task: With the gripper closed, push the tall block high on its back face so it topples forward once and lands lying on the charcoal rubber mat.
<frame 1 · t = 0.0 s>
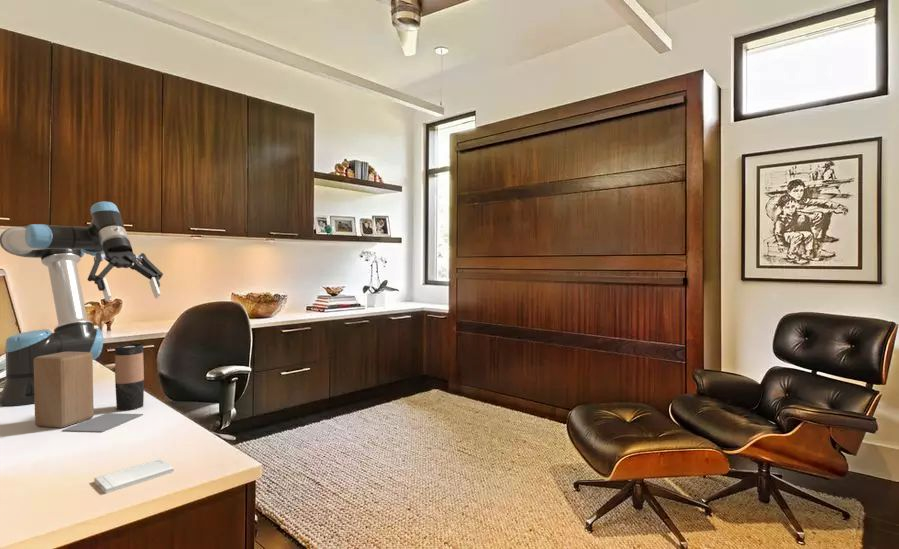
hand: (134, 297, 145), 36 cm above the table, tool tilted 35°, fingers open, 13 cm apart
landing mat: (104, 422, 136), on the table
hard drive: (135, 480, 101), on the table
block: (65, 423, 137), on the table
travel mug: (130, 408, 151), on the table
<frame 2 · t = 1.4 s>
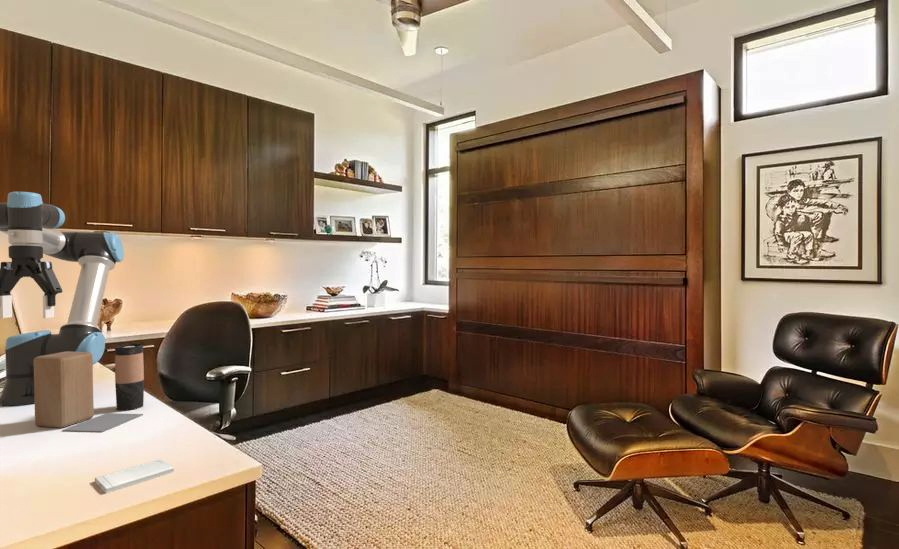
hand: (27, 317, 138), 31 cm above the table, tool pointing down, fingers open, 13 cm apart
nothing on the table moved.
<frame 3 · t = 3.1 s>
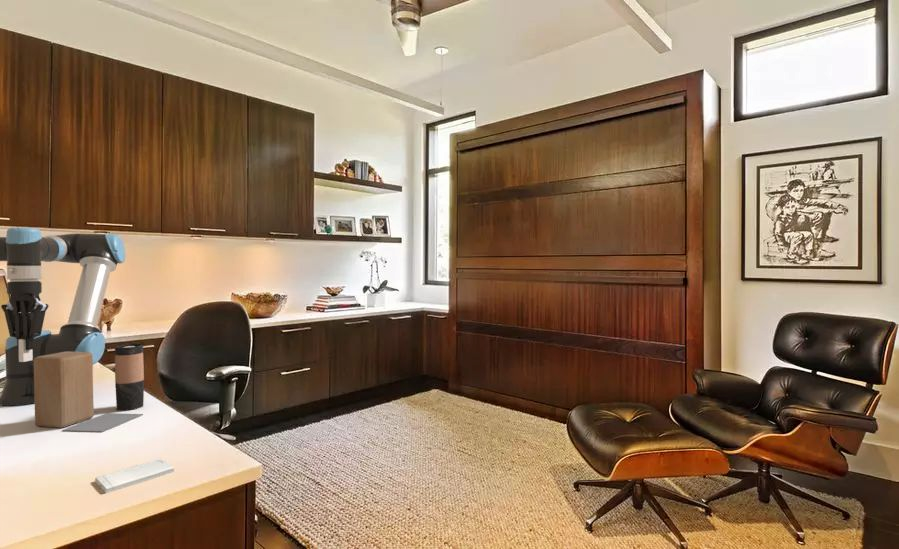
hand: (25, 360, 137), 18 cm above the table, tool pointing down, fingers closed
nothing on the table moved.
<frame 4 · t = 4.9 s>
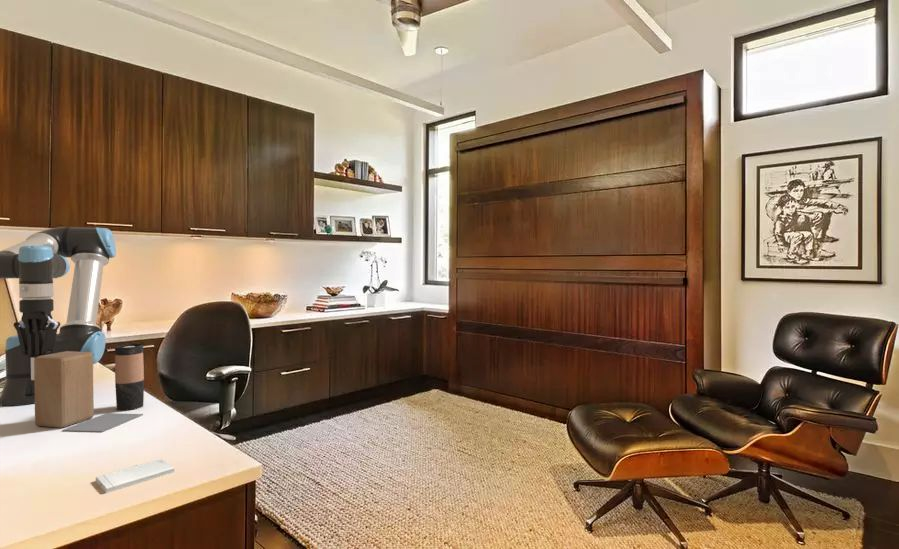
hand: (37, 378, 137), 13 cm above the table, tool pointing down, fingers closed
block: (65, 422, 137), on the table, touching gripper
everything else where it was.
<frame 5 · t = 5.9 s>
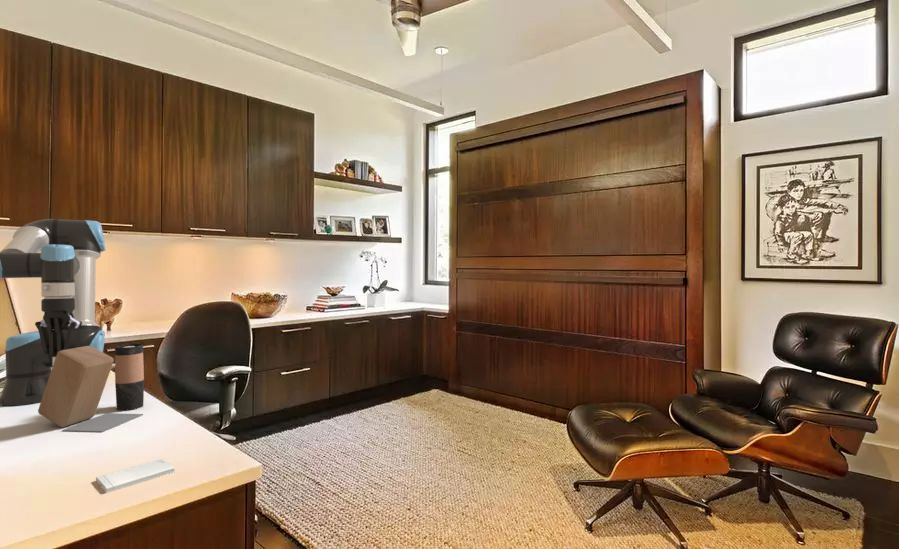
hand: (59, 378, 136), 13 cm above the table, tool pointing down, fingers closed
block: (65, 416, 137), point 2 cm above the table, touching gripper
everything else where it was.
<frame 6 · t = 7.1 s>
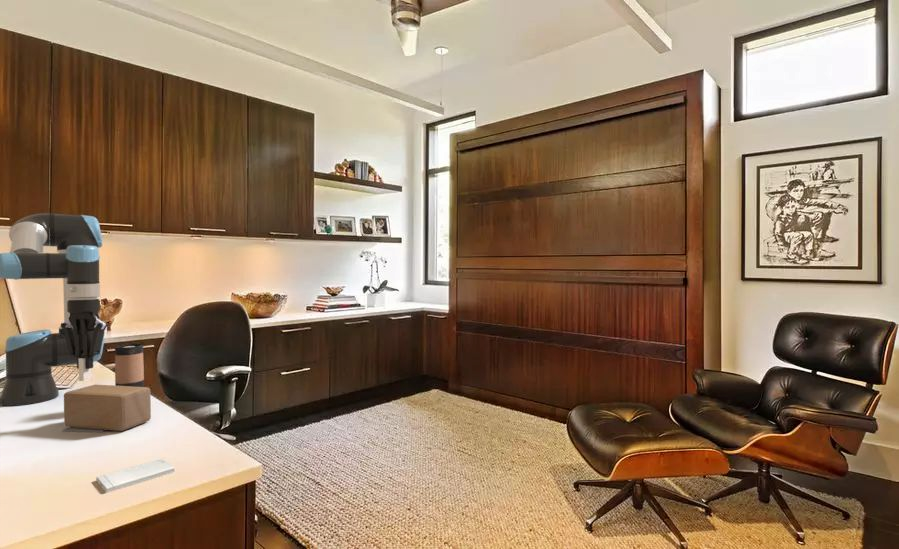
hand: (85, 379, 136), 13 cm above the table, tool pointing down, fingers closed
block: (78, 404, 136), point 5 cm above the table, touching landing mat
everything else where it was.
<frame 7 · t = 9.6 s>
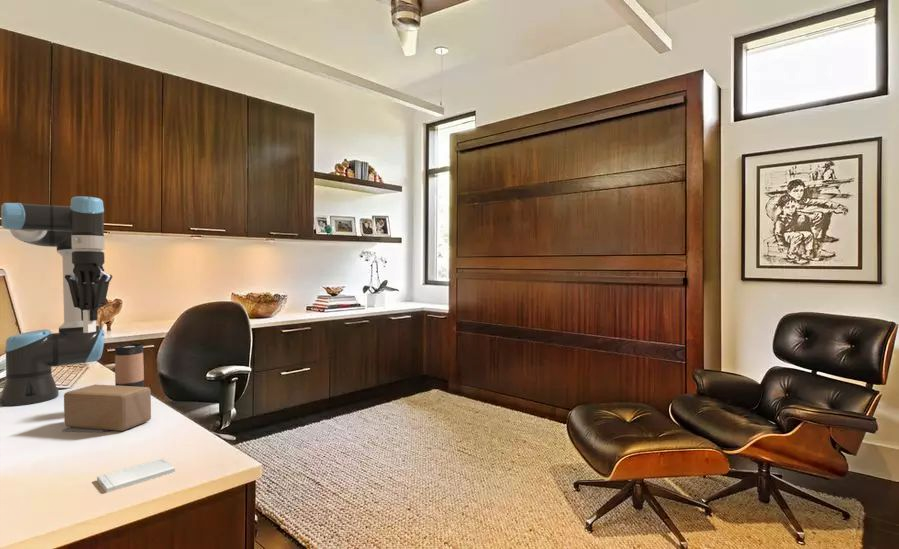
hand: (89, 331, 136), 26 cm above the table, tool pointing down, fingers closed
nothing on the table moved.
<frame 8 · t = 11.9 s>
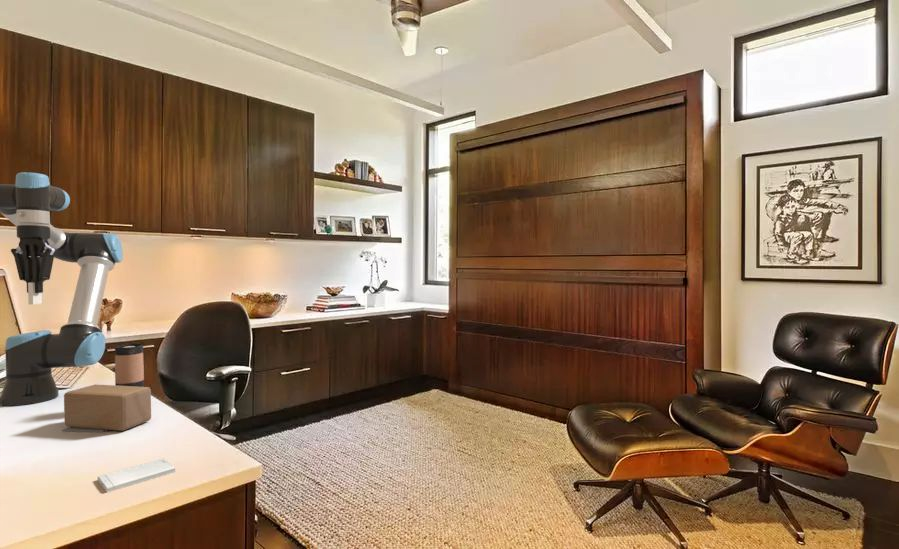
hand: (35, 304, 140), 34 cm above the table, tool pointing down, fingers closed
nothing on the table moved.
at the end: block tilted 90°; block touching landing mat; block inside the target area (2.8 cm from its centre), point 5.3 cm above the table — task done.
